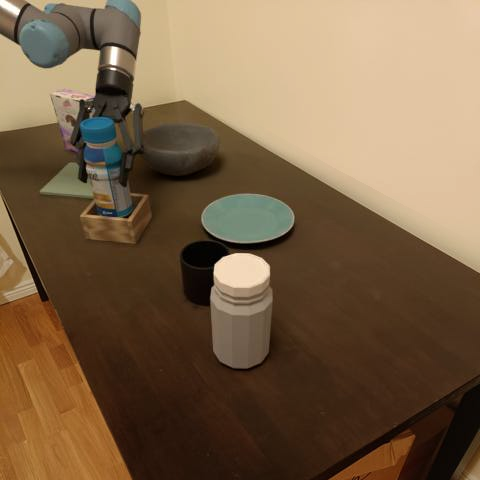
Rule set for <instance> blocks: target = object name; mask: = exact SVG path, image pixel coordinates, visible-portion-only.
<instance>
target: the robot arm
mask: <svg viewBox="0 0 480 480" xmlns="http://www.w3.org/2000/svg"><path fill="white" fill-rule="evenodd" d="M43 8H44V9H43V10H42V9H39V8H38V7H36V6H35V5H33V4H31V3H30V2H28V1H27V0H0V35H1V36H3V37H4V38H6V39H7V40H9V41H11V42H13V43H14V44H16V45H17V46H19V47H20V48H21V51H22V53H23V54H24V56H25V57H26V58H27V60H28V61H29V62H30V63H31V64H33V65H34V66H36V67H38V68H41V69H46V70H47V69H53V68H55V67H57V66H61V65H63V64H64V63H65V62H66V61H67V60H68V59H69V58H70V57H72V56H74V55H76V54H77V53H78V52H80V51H81V50H93V51H99V57H98V63H97V64H98V65H97V74H96V81H95V87H94V89H95V94H94V96H95V97H94V98H93V100H92V101H85V100H83V99H81V100H80V101H79V113H78V116H77V119H76V122H75V125H74V129H73V132H72V135H71V138H70V144H71V145H73V146H74V147H75V148H76V149H78V152H77V153H76V162H75V163H77V164H78V165H79V172H78V179H79V180H80V181H81V182H83V183H87V179H88V174H87V171H86V165H87V163H86V161H85V160H84V150H85V147H86V144H87V143H86V142H85V141H84V140H83V137H82V133H81V129H80V123H81V122H82V121H84V120H86V119H89V117H90V113H92V109H93V108H95V112H94V114H93V116H92V118H93V117H106V118H110V119H112V120H113V122H114V124H118V125H117V126H118V128H119V131H120V134H121V137H122V141H123V144H124V147H125V148H124V149H125V151H123V152H122V159H121V167H120V175H119V183H120V184H121V185H122V186H123V187H127V181H128V182H129V172H132V171H133V170H134V164H135V157H136V156H137V155H140V154H141V155H142V154H144V139H143V132H144V124H143V119H144V115H145V112H146V111H145V109H144V108H143V106H142V105H141V103H139V102H137V103H132V98H133V91H134V81H135V75H136V67H137V58H138V52H139V51H138V50H139V45H140V37H141V33H142V32H141V25H142V12H141V11H140V9H139V7H138V6H137V4H136V3H135V2H133V1H132V0H106V3H105V5H104V8H101V7H99V8H96V7H95V8H94V7H88V6H87V7H86V6H79V5H72V4H66V3H63V2H60V3H52V2H51V3H47V4H46V5H45V6H44V7H43ZM130 113H131V114H132V122H133V123H132V124H133V139H134V142H133V140H132V137H131V134H130V129H129V126H128V122H127V119H126V117H127V116H128V115H129V114H130Z"/></svg>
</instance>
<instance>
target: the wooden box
mask: <svg viewBox="0 0 480 480" xmlns="http://www.w3.org/2000/svg"><path fill="white" fill-rule="evenodd" d="M130 195H131V199H132V203H133V211H132V212H131V213H130V214H129V215H128V216H126V217H124V218H117V217H106V216H100V215H99V214H98V212H97V207H96V203H95V199H92V201H91V202H90V203H89V204H88V206H87V207H86V208H85V209H84V211H82V213H81V214H80V216H79V218H80V222H81V225H82V228H83V229H82V230H83V232H84V235H85V239H86V240H94V241H101V242H102V241H103V242H110V243H111V242H113V243H120V244H121V243H122V244H123V243H124V244H132V245H136V244H137V243H138V241H139V240H140V238H141V236H142V234H143V233H144V232H145V229H146V228H147V227H148V225H149V224H150V221H151V219H152V218H153V214H152V209H151V208H152V207H151V202H150V196H149V194H143V193H133V192H130Z"/></svg>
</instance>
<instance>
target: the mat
mask: <svg viewBox="0 0 480 480" xmlns="http://www.w3.org/2000/svg"><path fill="white" fill-rule="evenodd" d="M78 172H79V165H78V164H77V162H69V161H68V163H67V164H66V165H65V166H64V167H62V169H61V170H60V171H58V173H57V174H56V175H54V176H53V177H52V179H50V181H49V182H47V183H46V184H45V185H44V186H43V187H42V188H41V189H40V190H39V194H40V195H48V196H58V197H69V198H82V199H92V200H94V195H93V191H92V187H91V183H90V179H89V176H88V179H87V183H83V182H81V181H80V180H79V179H78Z"/></svg>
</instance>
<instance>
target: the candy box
mask: <svg viewBox="0 0 480 480" xmlns="http://www.w3.org/2000/svg"><path fill="white" fill-rule="evenodd" d="M49 96H50V101H51V103H52V106H53V110H54V114H55V117H56V120H57V124H58V127H59V130H60V133H61V136H62V140H63V144H64V147H65V150H68V151H70V152H73V153H76V154H77V152H78V149H76V148H75V147H74V146H73V145H71V144H70V138H71V135H72V132H73V129H74V125H75V122H76V119H77V116H78V113H79V101H80V100H81V99H83V100H85V101H92V100H93V98H94V97H95V95H92V94H87V93H83V92H79V91H75V90H70V89H66V88H63V89H60V90H57V91H54V92H51V93H49ZM94 112H95V108H93V109H92V113H90V117H89V118H92V116H93V114H94Z"/></svg>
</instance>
